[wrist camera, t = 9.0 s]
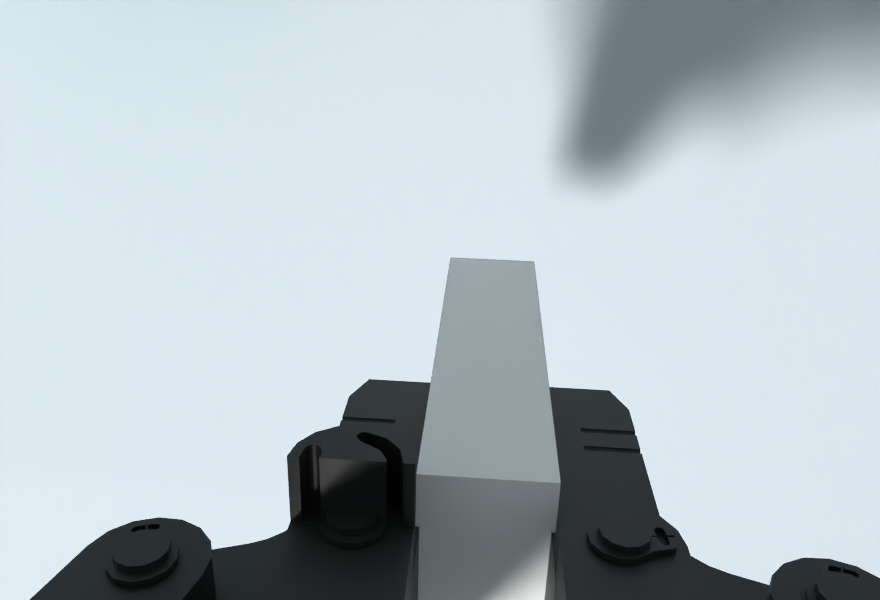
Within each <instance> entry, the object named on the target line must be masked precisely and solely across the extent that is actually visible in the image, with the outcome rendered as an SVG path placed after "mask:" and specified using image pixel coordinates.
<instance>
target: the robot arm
mask: <svg viewBox="0 0 880 600" xmlns="http://www.w3.org/2000/svg"><path fill="white" fill-rule="evenodd" d="M287 464H288V481H289V499H290V517H291V522H290V525H289V527H288V530H286V531H285V532H283V533H280V534H278V535H276V536H273V537H271V538H269V539H266V540H262V541H258V542H254V543H250V544H244V545H238V546H232V547H226V548H220V549H214V550H212V549H211V541H210V540H209V538H208V537H207V536H206V534H205V533H204V532H203V531H202V529H201V528H199V527H197V526H195V525H193V524H191V523H188V522H186V521H184V520H179V519H169V518H153V519H146V520H140V521H133V522H131V523H128V524H126V525H123V526H120V527H118V528H115V529H113V530H110V531H108V532H107V533H105V534H104V535H102V536H101V537H99V538H98V539H97V540H95V541H94V542H92V543H91V544H89V545H88V546H87V547H86V548H85V549H84V550H83V551H81V552H80V553H79V554H78V555H77V556H76V557H75V558H74V559H73V560H72V561H71V562H70V563H69V564H68V565H66V566H65V567H64V568H63V569H62V570H61V571H60V572H59V573H58V574H57V575H56V576H55V577H54V578H53V579H51V580H50V581H49V582H48V583H47V584H46V585H45V586H44V587H43V588H42V589H41V590H40V591H39V592H37V593H36V594H35V595H34V596H33V597H32V598H31V599H30V600H880V578H878V577H876V576H874V575H872V574H870V573H868V572H866V571H864V570H862V569H860V568H859V567H857V566H853V565H849V564H846V563H842V562H838V561H835V560H831V559H820V558H801V559H798V560H794V561H791V562H788V563H784V564H783V565H782V566H781V567H780V568H779V569H778V570H777V571H776V572H775V573H774V574H773V575H772V578H771V582H770V585H766V584H763V583H759V582H756V581H753V580H749V579H746V578H742V577H739V576H736V575H732V574H729V573H726V572H723V571H721V570H718V569H715V568H713V567H710V566H708V565H706V564H704V563H702V562H701V561H699V560H697V559H695V558H693V557H692V556H690V553H689V550H688V547H687V545H686V543H685V542H684V540H683V538H682V537H681V535H680V533H679V532H678V530H677V529H675V528H674V527H673V526H671V525H670V524H669V523H668V522H666V521H665V520H664V519H663V518H661V517H660V516H659V512H658V509H657V505H656V502H655V499H654V495H653V492H652V488H651V485H650V481H649V478H648V474H647V471H646V467H645V464H644V461H643V457H642V454H640V447H639V443H638V440H637V436H635V430H634V426H633V423H632V419H631V416H630V412H629V410H628V409H627V408H626V407H625V406H624V405H623V404H622V403H621V402H620V401H619V400H618V399H617V398H616V397H615V396H614V395H613V394H612V393H611V392H610V391H607V390H589V389H572V388H554V387H549V381H548V373H547V364H546V356H545V348H544V339H543V331H542V323H541V314H540V306H539V298H538V289H537V281H536V273H535V264H534V262H531V261H511V260H491V259H470V258H450V264H449V270H448V276H447V283H446V289H445V295H444V302H443V308H442V315H441V321H440V327H439V334H438V340H437V346H436V353H435V359H434V365H433V372H432V378H431V383H423V382H406V381H388V380H371V379H369V380H368V381H367V382H366V383H364V384H363V385H362V386H361V387H360V388H359V389H357V390H356V391H355V392H354V393H353V394H351V395H350V396H349V399H348V402H347V405H346V408H345V411H344V414H343V419H342V421H341V423H340V426H337V427H333V428H330V429H326V430H322V431H319V432H315V433H313V434H312V435H310V436H308V437H306V438H305V439H303V440H301V441H300V442H298V443H297V444H296V445H295V447H294V448H293V449H292V450H291V452H290V453H289V454H288V456H287Z"/></svg>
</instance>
